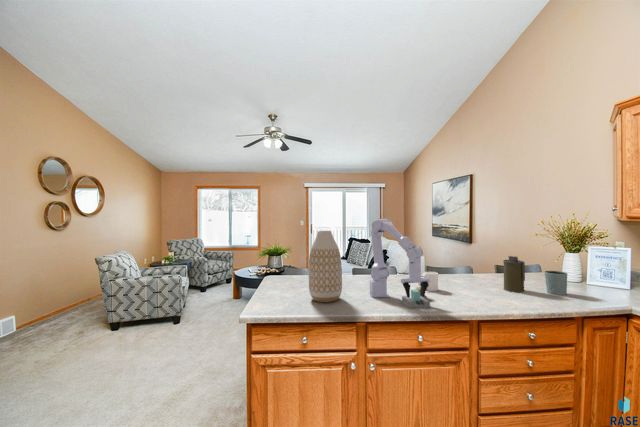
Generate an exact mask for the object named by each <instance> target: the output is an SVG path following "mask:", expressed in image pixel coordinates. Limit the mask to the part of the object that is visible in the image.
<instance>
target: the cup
mask: <svg viewBox="0 0 640 427" xmlns="http://www.w3.org/2000/svg"><path fill="white" fill-rule="evenodd" d="M421 278H429V279H430V283H428V284H429V286H428V287H427V291H428V292H438V290H439V273H438V272H436V271H424V272H423V273H422V274H421ZM417 284H418V287H421V285H420V283H417ZM427 291H426V292H427Z"/></svg>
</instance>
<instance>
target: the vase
mask: <svg viewBox="0 0 640 427" xmlns="http://www.w3.org/2000/svg"><path fill="white" fill-rule="evenodd" d="M315 236H316V237H315V238H314V240H313V242H312V245H311V248H310V251H309V257H308V258H309V259H308V291H309V295H310V296H311V298H312V299H313V300H314V301H316V302H317V303H324V302H326V303H331V302H332V303H333V302H335V301H337V300H339V298H340V297H341V296H342V291H343V276H342V275H343V271H342V270H343V268H342V258H341V253H340V249H339V246H338V243H337V242H336V240H335V238H334V235H333V233H332V230H318V231H317V232H316V235H315Z"/></svg>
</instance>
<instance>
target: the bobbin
mask: <svg viewBox="0 0 640 427" xmlns="http://www.w3.org/2000/svg"><path fill="white" fill-rule="evenodd" d="M416 289H417V290H418V291H420V296H421V286H418V287H415V290H416ZM426 292H427V289H426ZM424 298H426V299H427V300H428V296H427V295H426V294H425V295H424Z"/></svg>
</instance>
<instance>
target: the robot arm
mask: <svg viewBox="0 0 640 427" xmlns="http://www.w3.org/2000/svg"><path fill="white" fill-rule="evenodd" d="M384 232H388V233H389V234H390V235H391V236H393V237H394V238H395V239H396V241H398V243H397V244H398V245H399V247H401V248H402V249H403V250H404V252H405V253H406V256H407V258H408V266H409V267H408V274H409V277H407V278H406V277H405V278H401V279H400V283H401V284H402V285H403V286H402V287H403V288H404V291H405V293H406V296H407V297H408V298H411V284H414V283H415V284H416V283H417V284H418V283H420V285H421V286H420V287H421V296H422V297H424V295H425V296H426V292H427V291H426V289H427V287H428V286H429V284H428V283H430V279H429V278H424V277H421V275H422V260H421V259H422V257H423V254H424V251H423V249H422V248H421V246H417V245H416V243H413V242H412V240H411V238H410V237H409V236H406V235H405V236H404V235H402V233H401V232H400V231H399V230H398V229H397V227H396V226H394V224H393V222H392V221H391V220H390V219H389V218H376V219H374V220H373V221H372V222H371V232H370V236H371V245H372V252H373V254H372V255H373V262H374V263H373V264H372V266H371V273H370V276H371V278H372V279H371V280H369V295H370V296H371V297H372V298H389V297H390V295H389V294H388V293H387V292H388V288H387V286H388V285H387V284H388V283H387V280H388V278H389V276H390V271H389V270H390V269H389V268H388V265H387V264H386V263H385V260H384V258H385V257H384V252H383V251H384V250H383V243H382V242H383V241H382V235H383V234H384Z"/></svg>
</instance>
